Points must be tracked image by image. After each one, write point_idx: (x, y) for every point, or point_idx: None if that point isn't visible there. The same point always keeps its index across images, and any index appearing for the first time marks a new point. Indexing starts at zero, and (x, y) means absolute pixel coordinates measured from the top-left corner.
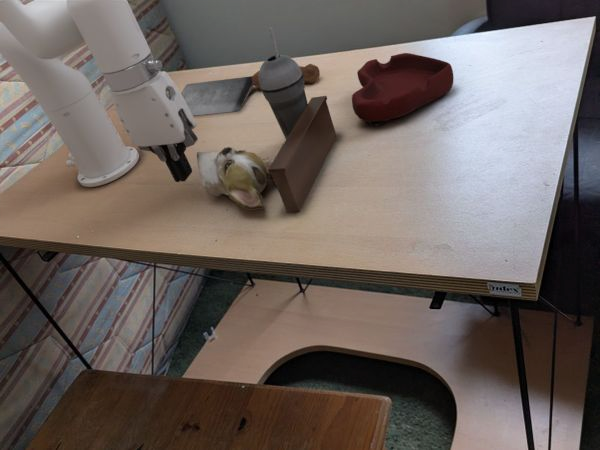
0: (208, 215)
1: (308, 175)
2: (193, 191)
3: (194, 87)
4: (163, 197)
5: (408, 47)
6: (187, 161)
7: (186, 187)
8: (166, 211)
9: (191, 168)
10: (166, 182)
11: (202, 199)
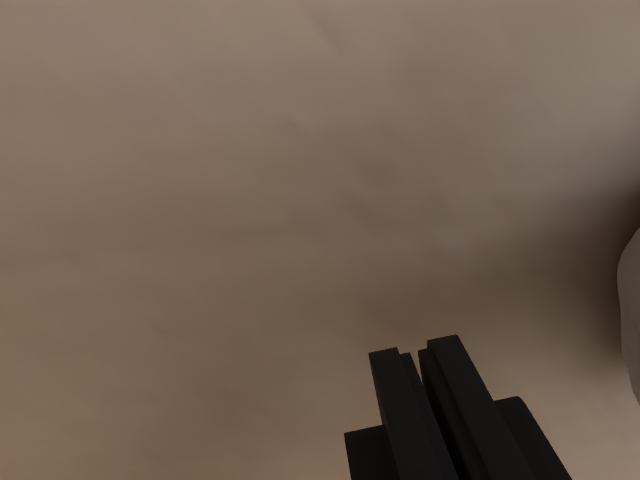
0: (626, 443)
1: None
2: (373, 291)
3: None
4: (165, 378)
5: None
6: (557, 465)
7: (274, 262)
8: (312, 468)
9: (461, 344)
10: (13, 235)
11: (504, 346)
